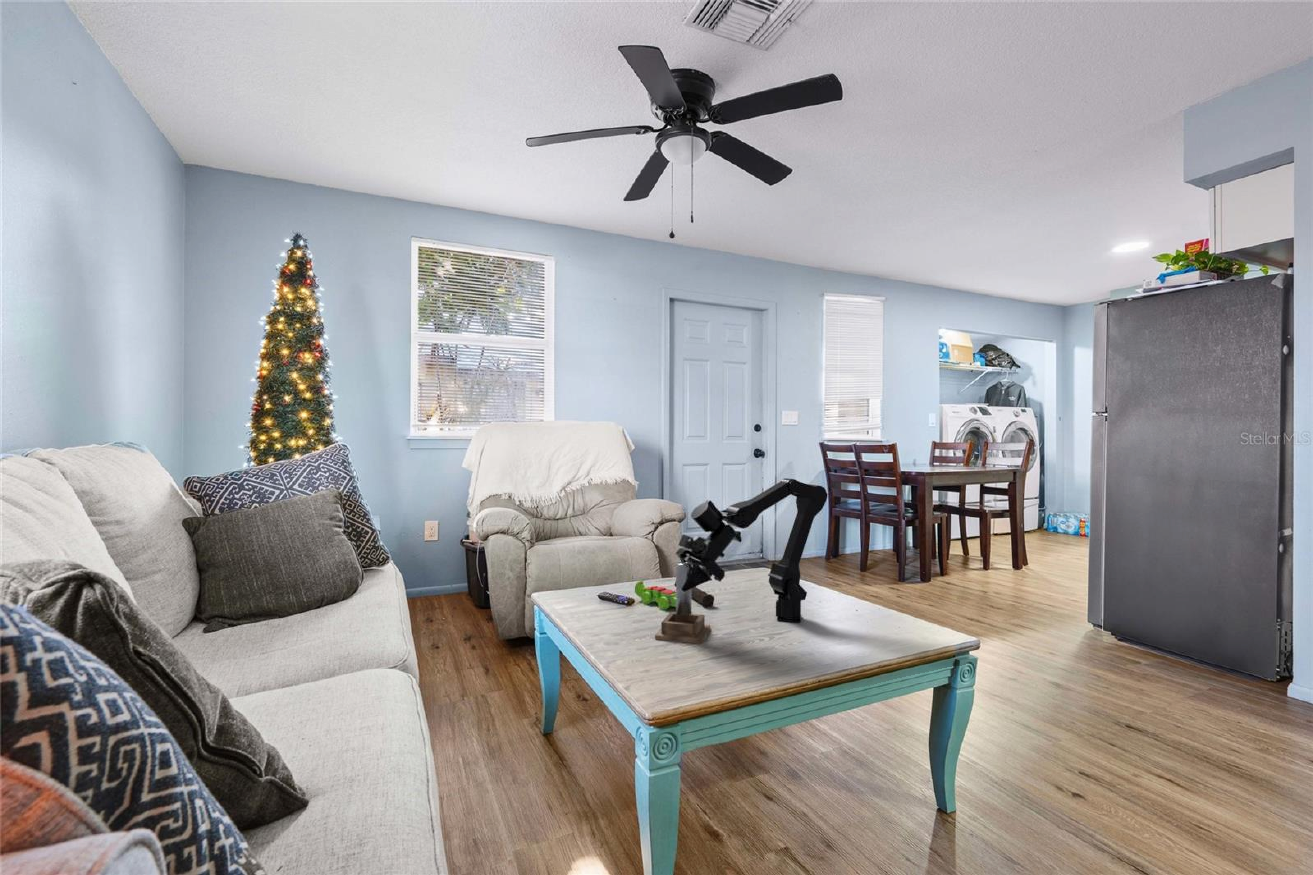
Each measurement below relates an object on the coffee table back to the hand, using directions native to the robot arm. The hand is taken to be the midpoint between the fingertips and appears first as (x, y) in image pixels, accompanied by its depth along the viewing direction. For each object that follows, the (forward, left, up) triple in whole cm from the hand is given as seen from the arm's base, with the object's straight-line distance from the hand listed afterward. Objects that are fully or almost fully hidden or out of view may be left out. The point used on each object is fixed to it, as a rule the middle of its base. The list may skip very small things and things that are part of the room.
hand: (679, 588), depth 156 cm
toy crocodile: (+12, -25, -12) cm, 30 cm away
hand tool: (+3, -34, -12) cm, 36 cm away
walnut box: (-1, -1, -12) cm, 12 cm away
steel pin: (-1, -1, -7) cm, 7 cm away
